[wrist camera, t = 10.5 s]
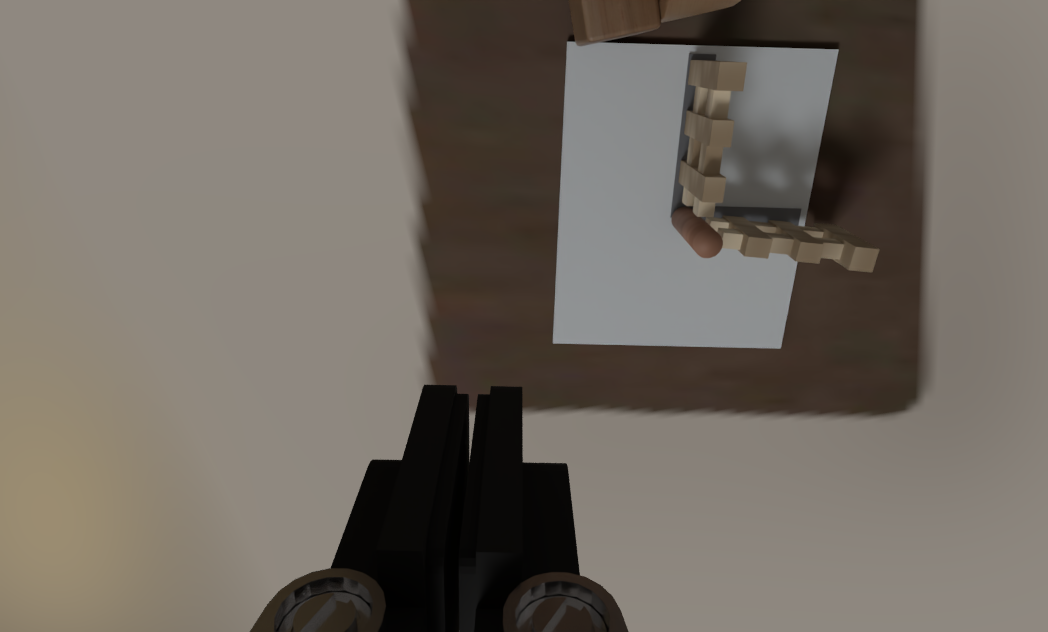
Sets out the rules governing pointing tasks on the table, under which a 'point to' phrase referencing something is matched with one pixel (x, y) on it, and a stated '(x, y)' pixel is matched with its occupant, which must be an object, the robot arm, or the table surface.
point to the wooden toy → (631, 16)
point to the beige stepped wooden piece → (774, 239)
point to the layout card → (679, 194)
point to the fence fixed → (708, 132)
